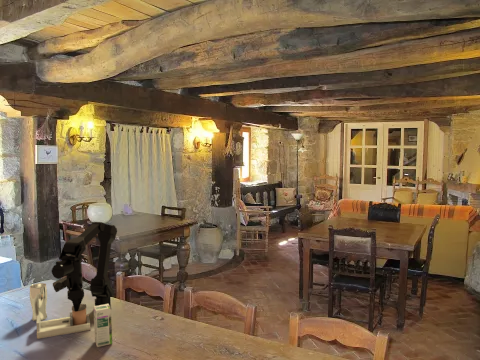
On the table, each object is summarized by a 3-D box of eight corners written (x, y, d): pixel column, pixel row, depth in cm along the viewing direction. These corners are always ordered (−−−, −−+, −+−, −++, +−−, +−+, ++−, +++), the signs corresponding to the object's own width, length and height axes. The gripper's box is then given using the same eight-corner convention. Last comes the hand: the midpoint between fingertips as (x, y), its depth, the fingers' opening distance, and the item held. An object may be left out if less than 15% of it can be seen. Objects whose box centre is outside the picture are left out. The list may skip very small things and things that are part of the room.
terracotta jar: (86, 320, 180) (86, 302, 179) (87, 326, 174) (86, 307, 174) (72, 323, 178) (71, 305, 177) (72, 328, 172) (71, 310, 171)
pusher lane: (88, 319, 183) (88, 306, 182) (90, 329, 172) (89, 315, 172) (38, 327, 175) (37, 313, 174) (37, 338, 165) (36, 324, 164)
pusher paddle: (72, 321, 179) (72, 312, 178) (73, 329, 171) (72, 319, 171) (62, 322, 177) (62, 313, 177) (62, 330, 170) (62, 321, 169)
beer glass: (35, 323, 179) (34, 289, 178) (27, 319, 183) (26, 286, 182) (51, 317, 185) (49, 285, 183) (43, 314, 189) (41, 281, 187)
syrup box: (97, 347, 157) (95, 310, 156) (94, 341, 162) (93, 305, 161) (112, 344, 160) (111, 307, 159) (109, 338, 165) (108, 302, 164)
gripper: (53, 267, 179) (55, 302, 180) (52, 280, 162) (54, 319, 163) (81, 264, 183) (82, 298, 184) (83, 276, 166) (84, 314, 167)
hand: (76, 307), depth 175 cm, fingers open, 9 cm apart
